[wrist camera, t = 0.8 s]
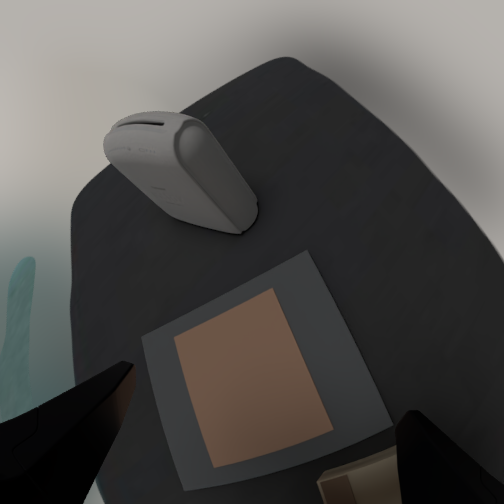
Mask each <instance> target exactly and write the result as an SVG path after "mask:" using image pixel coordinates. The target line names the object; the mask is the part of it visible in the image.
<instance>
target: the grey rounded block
mask: <svg viewBox="0 0 504 504" xmlns="http://www.w3.org/2000/svg"><path fill="white" fill-rule="evenodd" d="M103 145H104V152H105V155H106V157H107V159H108V160H109V161H110V163H111V164H113V165H114V166H115V167H116V168H117V169H118V170H119V171H120V172H121V173H122V174H123V175H124V176H126V177H127V178H128V179H129V180H130V181H131V182H132V183H133V184H134V185H136V186H137V187H138V188H139V189H140V190H141V191H142V192H143V193H144V194H146V195H147V196H148V197H149V198H150V199H151V200H152V201H153V202H155V203H156V204H157V205H158V206H159V207H160V208H161V209H163V210H164V211H165V212H166V213H168V214H169V215H170V216H172V217H174V218H176V219H178V220H181V221H185V222H188V223H191V224H194V225H198V226H202V227H206V228H210V229H214V230H218V231H223V232H227V233H234V234H241V233H242V231H245V230H247V229H248V228H249V227H250V226H251V225H252V224H253V222H254V221H255V219H256V217H257V214H258V207H257V204H256V203H257V198H256V196H255V194H254V193H253V191H252V190H251V189H250V187H249V186H248V184H247V183H246V181H245V180H244V179H243V177H242V176H241V174H240V173H239V171H238V170H237V169H236V167H235V166H234V164H233V163H232V161H231V160H230V159H229V157H228V156H227V154H226V153H225V151H224V150H223V148H222V147H221V146H220V144H219V143H218V141H217V140H216V139H215V137H214V136H213V134H212V133H211V132H210V130H209V129H208V127H207V126H206V125H205V124H204V123H203V122H202V121H200V120H198V119H196V118H193V117H191V116H188V115H184V114H180V113H174V112H160V111H155V112H154V111H153V112H143V113H138V114H134V115H130V116H128V117H126V118H124V119H121V120H120V121H118V122H117V123H116V124H115V125H114V126H113V127H112V128H111V131H110V132H109V133H108V134H107V135H106V136H105V139H104V144H103Z"/></svg>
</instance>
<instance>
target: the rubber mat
mask: <svg viewBox="0 0 504 504" xmlns="http://www.w3.org/2000/svg"><path fill="white" fill-rule="evenodd" d="M141 338H142V343H143V348H144V353H145V357H146V362H147V366H148V371H149V375H150V380H151V384H152V388H153V392H154V396H155V400H156V403H157V407H158V411H159V415H160V418H161V422H162V425H163V429H164V432H165V435H166V439H167V442H168V445H169V448H170V451H171V454H172V457H173V460H174V463H175V466H176V469H177V472H178V475H179V478H180V481H181V483H182V486H183V489H184V491H189V490H196V489H202V488H208V487H214V486H219V485H224V484H229V483H234V482H239V481H243V480H247V479H251V478H255V477H259V476H263V475H267V474H270V473H274V472H277V471H281V470H284V469H287V468H291V467H294V466H297V465H300V464H303V463H306V462H309V461H312V460H314V459H317V458H320V457H323V456H325V455H328V454H331V453H333V452H336V451H338V450H341V449H343V448H345V447H348V446H350V445H352V444H355V443H357V442H359V441H362V440H364V439H366V438H368V437H370V436H372V435H375V434H377V433H379V432H381V431H383V430H385V429H387V428H389V427H391V426H393V423H392V421H391V418H390V416H389V414H388V412H387V409H386V407H385V405H384V403H383V401H382V398H381V396H380V394H379V392H378V390H377V388H376V385H375V383H374V381H373V379H372V377H371V375H370V373H369V371H368V368H367V366H366V364H365V362H364V360H363V358H362V356H361V354H360V352H359V350H358V348H357V346H356V344H355V342H354V339H353V337H352V335H351V333H350V331H349V329H348V327H347V325H346V323H345V321H344V319H343V317H342V315H341V314H340V312H339V310H338V308H337V306H336V304H335V302H334V300H333V298H332V296H331V294H330V292H329V290H328V288H327V286H326V284H325V283H324V281H323V279H322V277H321V275H320V273H319V271H318V269H317V267H316V266H315V264H314V262H313V260H312V258H311V256H310V254H309V253H308V251H307V250H306V251H304V252H302V253H300V254H299V255H297V256H295V257H293V258H291V259H289V260H287V261H286V262H284V263H282V264H280V265H278V266H276V267H275V268H273V269H271V270H269V271H267V272H265V273H263V274H262V275H260V276H258V277H256V278H254V279H252V280H250V281H248V282H247V283H245V284H243V285H241V286H239V287H237V288H235V289H233V290H231V291H230V292H228V293H226V294H224V295H222V296H220V297H218V298H216V299H214V300H212V301H210V302H209V303H207V304H205V305H203V306H201V307H199V308H197V309H195V310H193V311H191V312H189V313H187V314H185V315H183V316H182V317H180V318H178V319H176V320H174V321H172V322H170V323H168V324H166V325H164V326H162V327H160V328H158V329H156V330H154V331H152V332H150V333H148V334H146V335H144V336H142V337H141Z"/></svg>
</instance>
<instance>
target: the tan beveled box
mask: <svg viewBox="0 0 504 504" xmlns="http://www.w3.org/2000/svg"><path fill="white" fill-rule="evenodd" d="M317 484H318V487H319V490H320V493H321V496H322V499H323V502H324V504H402V502H401V493H400V485H399V477H398V469H397V453H396V445H395V446H393V447H391V448H388V449H386V450H383V451H381V452H378V453H376V454H373V455H371V456H368V457H365V458H363V459H360V460H357V461H354V462H351V463H348V464H345V465H342V466H339V467H336V468H333V469H329V470H326V471H324V472H323V474H322V475H321V477H320V478H319V479H318V481H317Z"/></svg>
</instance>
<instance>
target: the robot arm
mask: <svg viewBox="0 0 504 504" xmlns="http://www.w3.org/2000/svg"><path fill="white" fill-rule="evenodd" d="M135 386H136V369H135V365H134V364H132V363H129V362H126V361H121V362H119V363H117V364H115V365H113V366H112V367H110V368H108V369H106V370H104V371H103V372H101V373H99V374H97V375H95V376H94V377H92V378H90V379H88V380H86V381H84V382H83V383H81V384H79V385H77V386H75V387H74V388H72V389H70V390H68V391H66V392H64V393H62V394H60V395H59V396H57V397H55V398H53V399H51V400H49V401H47V402H45V403H43V404H42V405H40V406H39V407H36V408H34V409H32V410H30V411H28V412H26V413H24V414H22V415H20V416H17V417H15V418H13V419H10V420H8V421H5V422H3V423H0V504H83V503H84V500H85V498H86V496H87V494H88V492H89V490H90V488H91V486H92V484H93V482H94V480H95V478H96V476H97V474H98V472H99V470H100V468H101V466H102V464H103V462H104V460H105V458H106V456H107V454H108V452H109V450H110V448H111V446H112V444H113V442H114V440H115V438H116V436H117V434H118V432H119V430H120V428H121V425H122V422H123V420H124V417H125V414H126V411H127V409H128V406H129V403H130V400H131V398H132V395H133V392H134V390H135ZM395 434H396V453H397V469H398V477H399V485H400V493H401V502H402V504H504V485H503V484H502V483H501V482H499V481H498V480H497V479H495V478H494V477H493V476H492V475H490V474H489V473H488V472H487V471H486V470H485V469H484V468H482V467H481V466H480V465H479V464H478V463H477V462H476V461H475V460H473V459H472V458H471V457H470V456H469V455H468V454H467V453H466V452H464V451H463V450H462V449H461V448H460V447H459V446H458V445H457V444H456V443H454V442H453V441H452V440H451V439H450V438H449V437H448V436H447V435H446V434H444V433H443V432H442V431H441V430H440V429H439V428H438V427H437V426H435V425H434V424H433V423H432V422H431V421H430V420H429V419H428V418H427V417H425V416H424V415H423V414H422V413H421V412H420V411H418V410H410V411H408V412H406V414H405V415H404V416H403V418H402V419H401V420H400V422H399V423H398V424H397V426H396V430H395Z"/></svg>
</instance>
